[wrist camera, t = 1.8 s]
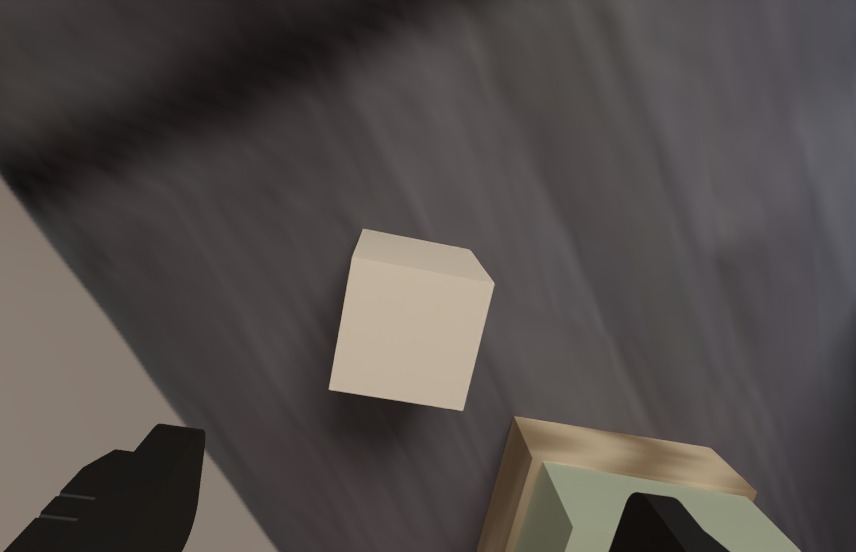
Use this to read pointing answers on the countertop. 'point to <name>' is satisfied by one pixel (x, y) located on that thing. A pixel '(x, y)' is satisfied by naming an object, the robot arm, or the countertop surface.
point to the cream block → (411, 321)
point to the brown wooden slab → (594, 452)
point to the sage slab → (604, 503)
